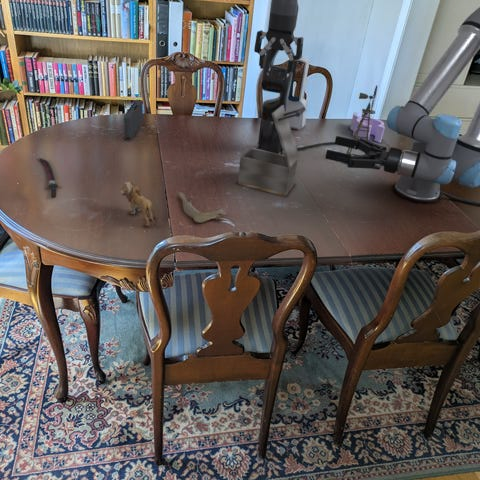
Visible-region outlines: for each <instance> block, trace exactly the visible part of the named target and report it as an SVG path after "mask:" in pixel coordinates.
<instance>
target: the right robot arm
mask: <svg viewBox="0 0 480 480" xmlns="http://www.w3.org/2000/svg"><path fill="white" fill-rule="evenodd" d="M479 50H480V6H479V7H478V8H476V9H475V10H474V11H473V12H472V13H471V14H470V15H468V16H467V17H466V19H465V20H464V21H463V22H462V24H461V25H460V26H459V28H458V29H457V35H456V37H455V38H454V40H452V42H451V44H450V45H449V46H448V47H447V49H446V50H445V52H444V53H443V54H442V56H441V57H440V58H439V60H438V61H437V62H436V64H435V65H434V67H433V68H432V69H431V71H429V73H428V74H427V76H426V77H425V78H424V80H423V81H422V82H421V84H420V85H419V86H418V88H416V90H415V92H414V93H413V94H412V96H411V97H410V98H409V100H408V101H406V103H405V105H396V106H394V107H393V108H391V110H389V112H388V114H387V117H386V126H387V128H388V129H389V130H391V131H392V132H395V133H397V134H398V135H402V136H405V137H407V138H410V139H412V140H413V142H412V143H413V144H412V147H411V150H409V149H404V150H402V148H398V147H393V146H391V147H389V149H388V147H386V146H383V145H380V144H377V143H375V142H373V141H370V140H368V141H367V140H365V139H362V138H360V139H356V140H354V139H355V138H354V139H353V138H349V137H344V136H339V135H335V140H334V142H335V144H334V145H335V146H341V147H345V148H348V147H349V148H350V149H351V148H355V149H354V150H358V149H359V150H358V151H361V152H362V153H364V154H356V155H351V154H352V153H350V154H346V153H345V152H341V151H336V150H331V149H326V151H325V152H326V153H325V158H324V159H325V160H329V161H334V162H338V163H342V164H346V165H347V168H349V169H368V170H369V169H371V170H378V171H380V170H381V167H383V172H384V173H385V172H386V173H390V174H396V173H397V175H400V176H399V178H398V179H397V180H396V182H395V185H394V191H395V193H397V195H399V196H400V197H402V198H403V199H406V200H409V201H412V202H416V203H422V204H423V203H424V204H430V203H435V202H437V201H438V200H439V198H440V195H443V196H445V197H447V198H450V199H453V200H455V201H457V202H462V203H465V204H470V205H475V206H479V207H480V201H479V202H478V201H474V200H469V199H465V198H461V197H458V196H455V195H453V194H450V193H447V192H445V191H442V190H441V185H449V184H450V182H451V181H453V182H456V183H458V184H459V185H461V186H464V187H467V188H470V189H471V188H472V189H473V188H477V187H479V186H480V101H479V102H478V105H477V107H476V109H475V112H474V114H473V116H472V118H471V120H470V123H469V125H468V127H467V129H466V131H465V133H464V134H462V135H460V132H461V128H462V125H463V122H462V119H460V118H459V117H457V116H455V115H451V114H447V113H441V114H437V115H435V117H431V116H430V114H431V113H432V112H433V110H434V109H435V108H436V106H437V105H438V104H439V102H440V101H441V100H442V99H443V98H444V96H445V95H446V93H447V92H449V89H450V88H451V87H452V86H453V84H454V83H455V81H457V79H458V77H459V76H460V75H461V74H462V73H463V72H464V70H465V68H466V67H467V66H468V64H469V63H470V62H471V61H472V60H473V58H474V57H475V56H476V54H477V53H478V51H479ZM387 150H388V151H387ZM365 153H366V154H367V155H365Z"/></svg>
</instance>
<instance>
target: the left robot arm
mask: <svg viewBox="0 0 480 480" xmlns="http://www.w3.org/2000/svg"><path fill="white" fill-rule="evenodd" d="M299 9H300V8H299V3H298V0H271V1H270V9H269V16H268V27H267V31H263V30H262V29H261V30H258V31H256V35H255V36H256V37H255V43H254V48H253V50H254V53H256V54H258V55H259V59H258V66H259V68H260V69H262V71H261V72H262V73H261V79H260V87H261V90H263V91H264V92H268V93H269V92H270V93H274V94H275V93H276V94H279V96H277V97H274V98H269V99H266V100H264V101H263V102H262V105H261V114H260V123H259V131H258V138H257V139H258V140H257V142H256V147H257V148H256V149H260V150H264V151H268V152H273V153H277V154H281V155H283V152H284V151H283V148H282V145H281V142H280V138H279V135H278V132H277V129H276V126H275V123H274V120H273V116H272V113H273V112H274V111H275V110H277V109H278V108H279V107H280V106H282V105H284V109H285V112H286V109H287V103H288V96H289V91H290V86H291V81H292V71H293V69H294V62H295V60H299V59H300V58H301V57H303V49H304V37H303V36H300V37H299V36H298V37H297V36H295V35H294V32H295V30H296V27H297V23H298V14H299ZM264 39H266V40H267V42H266V44H265V45H264V47H263V48H262V43H263V40H264ZM293 43H294V46H296V48H295V49H296V50H295V53H294V50H293V47H292V44H293ZM283 51H284V53H285V54H286V56H287V57H288V58H289V60H288V63H287V66H280V65H274V64H275V60H276V58H277V56H278V53H279V52H283ZM328 145H335V141H329V142H321V143H320V142H319V143H314V144H311V145H306V146H305V145H304V146H302V147H296V148H297V151H303V150H306V149H310V148H315V147H319V146H320V147H321V146H328Z"/></svg>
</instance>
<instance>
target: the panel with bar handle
mask: <svg viewBox="0 0 480 480" xmlns="http://www.w3.org/2000/svg"><path fill="white" fill-rule="evenodd" d="M305 110H306V111H307V107H306V108H305V107H302V108H301V109H298V110H295V111H291V112H288V113H286V112H285V109H284V105H282V106H280V107H279V108H278V109H277V110H275V111H274V112H273V113H272V116H273V120H274V123H275V126H276V129H277V132H278V135H279V138H280V142H281V145H282V148H283V151H282V152H283V155H285V157H286V161H287V164H288V167H289V168H290V167H291V166H292V165H293V164H294V163H295V162H296V160H297V159H298V160H299V158H300V155H299V152H298V151H299V150H297V148H298V147H297V145H296V141H295V138H294V135H293V132H292V128H290V125H289V122H288V118H291V117H295V116H297V117H299V116H300V115H301V114H302V113H303V112H304V111H305ZM293 113H296V114H293ZM290 114H292V115H290ZM287 115H289V116H287Z"/></svg>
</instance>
